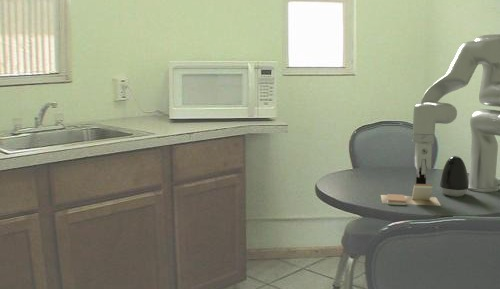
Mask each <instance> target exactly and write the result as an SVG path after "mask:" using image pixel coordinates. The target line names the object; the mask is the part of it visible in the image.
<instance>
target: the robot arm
mask: <svg viewBox="0 0 500 289" xmlns="http://www.w3.org/2000/svg"><path fill="white" fill-rule="evenodd" d="M479 65H482V75H481V81H480V85H479V86H480V87H479V92H478V99H479V103H480V104H482V105H483V106H486V107H487V106H489V107H494V108H495V107H496V108H497V107H498V108H500V33H499V34H484V35H483V34H482V35H480V36H477V37H476V38H475V39H474V40H469V41H466V42H463V44H461V45H460V46H459V48H458V50H457V52H456V54H455V56H454V58H453V60H452V61H451V63H450V66H449V68H448V69H447V71H446V72H445V74H444V76H441V77H440V78H439V79H438V80H436V81H435V82H434V83H433V84H432V85H431V86H429V88H428V89H427V90H426V91H425V92H424V94H423V96H422V98H421V100H420V102H419V103H417V104H415V105H414V107H413V119H412V121H413V122H412V138H411V142H412V143H414V145H415V146H414V167H415V168H416V177H415V184H427V170H428V172H431V171H432V156H433V155H432V154H433V153H432V150H433V149H432V144H435V133H436V124H439V125H440V124H441V125H448V124H451V123H453V122H454V121H455V120H456V118H457V116H458V110H457V109H456V106H454V105H453V104H451V103H447V102H439V101H440V100H441V99H442V98H443V97H444V96H446V95H447V94H450V93H453V92H455V91H458V90H460V89H463V88H464V87H467V85H468V84H469V83H470V80H472V79H471V78H472V77H473V75H474V73H475V71H476V69H477V68H478V66H479ZM469 119H470V120H469V123H470V124H469V125H470V126H469V127H470V131H471V132H470V133H471V144H470V145H471V146H470V159H469V160H470V161H469V173H468V174H469V175H468V183H469V187H468V189H467V190H470V191H474V192H481V193H494V192H496V193H497V192H498V191H500V179H498V178H497V176H496V175H497V166H498V165H497V163H498V153H499V152H498V151H499V149H498V148H499V144H498V143H499V142H498V140H497V138H496V136H498V137H500V110H497V109H487V108H486V109H485V108H484V109H483V108H482V109H477V110H475V111H474V112H473V113H472V114H471V115H470V118H469Z"/></svg>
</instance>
